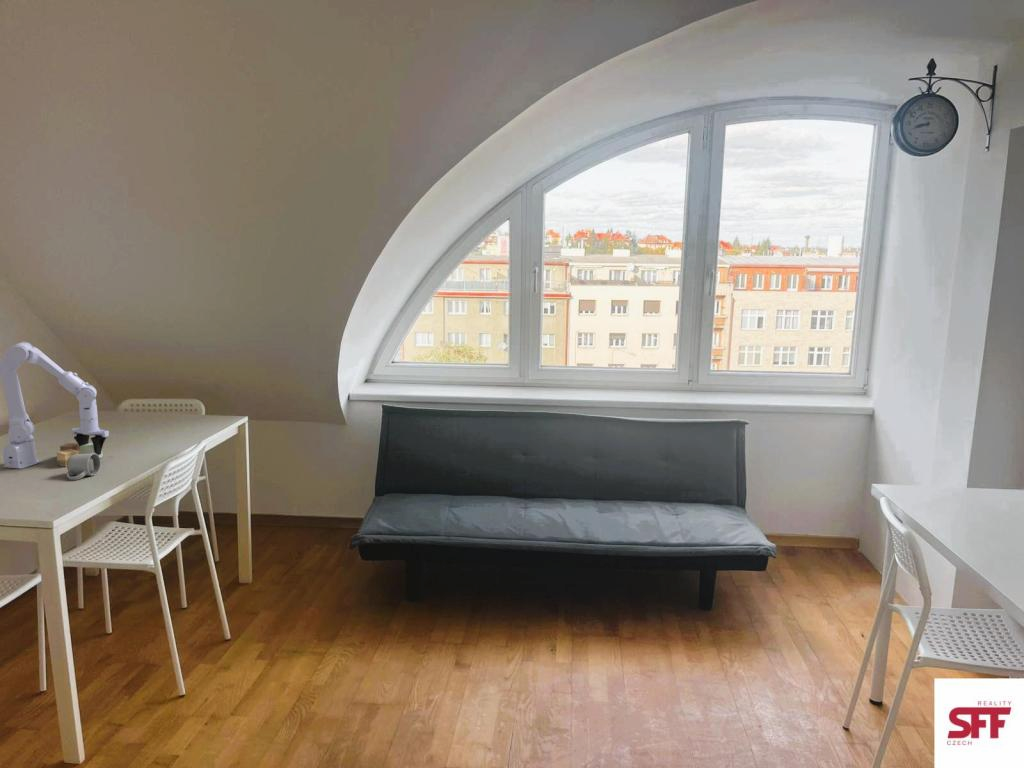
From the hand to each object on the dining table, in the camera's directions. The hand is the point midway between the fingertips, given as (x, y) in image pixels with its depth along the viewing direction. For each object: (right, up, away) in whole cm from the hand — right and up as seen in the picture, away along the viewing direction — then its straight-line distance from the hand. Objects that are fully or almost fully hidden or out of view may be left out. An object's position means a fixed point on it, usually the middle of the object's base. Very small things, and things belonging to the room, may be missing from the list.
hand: (91, 454), depth 277 cm
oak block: (-5, -3, -7) cm, 9 cm away
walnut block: (-9, -2, +2) cm, 9 cm away
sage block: (0, -1, 0) cm, 2 cm away
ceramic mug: (+8, -6, -19) cm, 22 cm away
